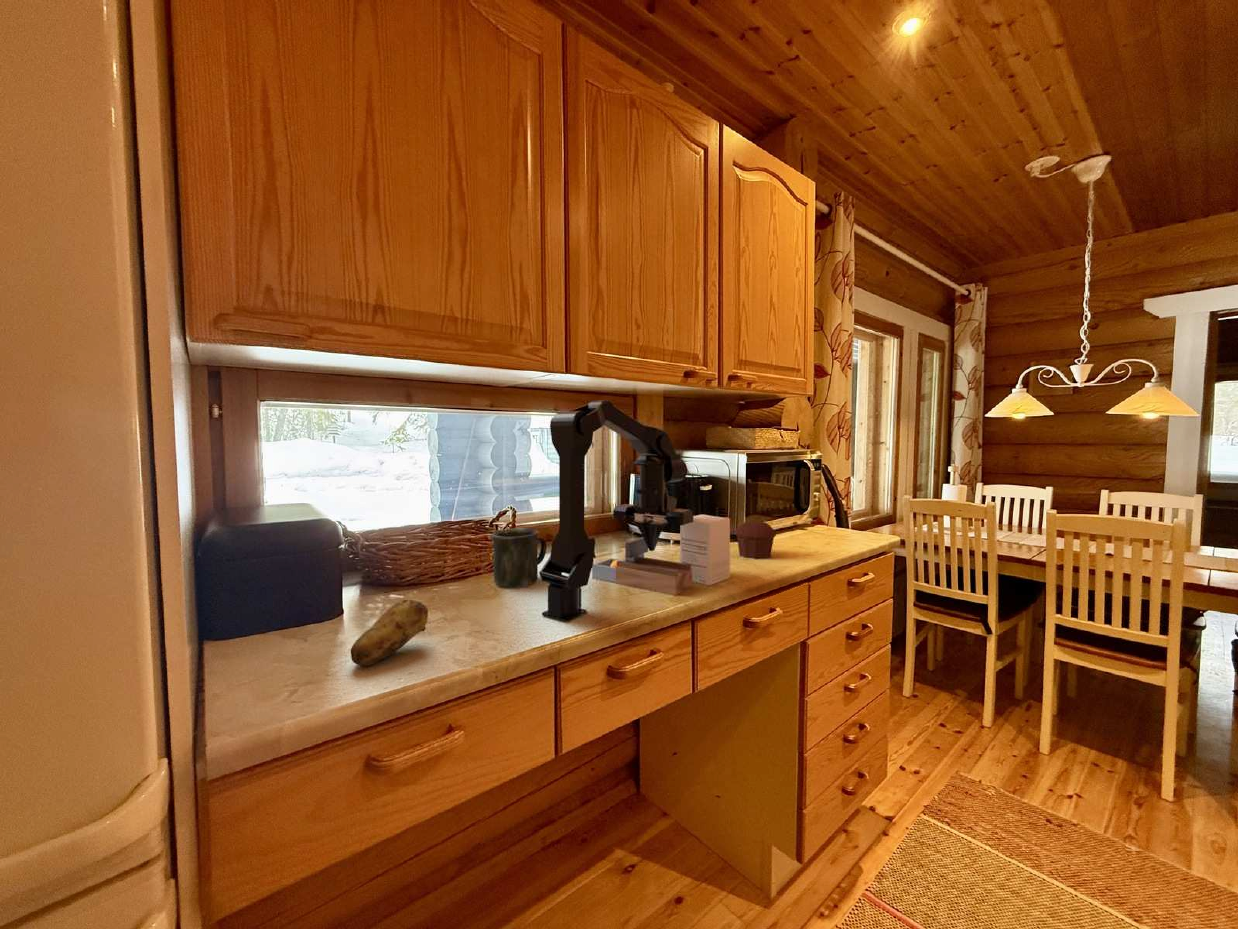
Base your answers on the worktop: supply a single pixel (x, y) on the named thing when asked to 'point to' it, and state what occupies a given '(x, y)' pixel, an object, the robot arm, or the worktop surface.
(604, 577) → the flat blue-grey box
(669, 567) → the launcher track
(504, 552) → the mug
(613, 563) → the ball
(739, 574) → the worktop surface
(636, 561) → the dark grey upright block
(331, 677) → the worktop surface
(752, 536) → the muffin
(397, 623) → the potato
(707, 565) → the supplement box
